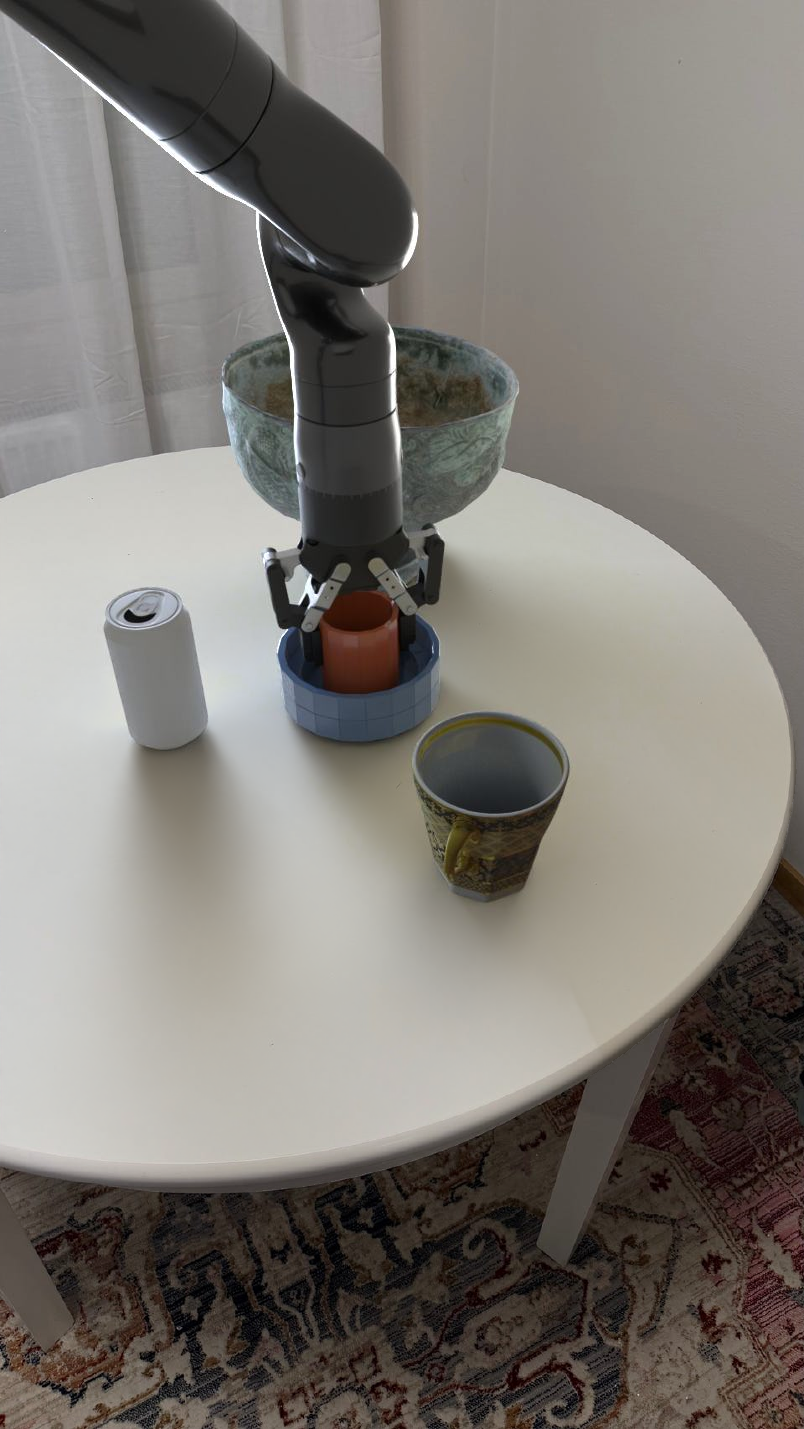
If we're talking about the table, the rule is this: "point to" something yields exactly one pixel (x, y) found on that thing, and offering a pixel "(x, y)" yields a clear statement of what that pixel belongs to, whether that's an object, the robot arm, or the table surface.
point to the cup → (360, 644)
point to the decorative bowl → (432, 414)
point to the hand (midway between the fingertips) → (359, 653)
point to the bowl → (361, 711)
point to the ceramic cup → (488, 798)
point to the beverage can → (156, 667)
